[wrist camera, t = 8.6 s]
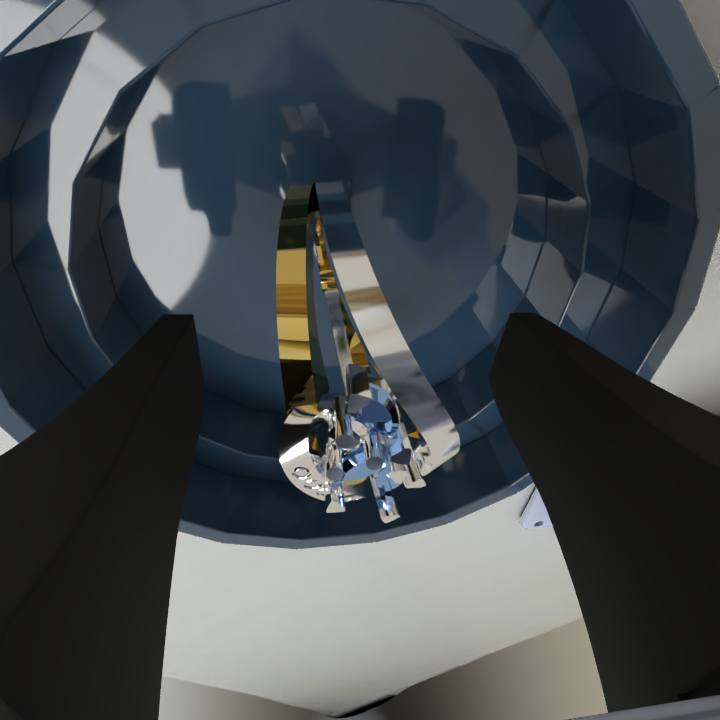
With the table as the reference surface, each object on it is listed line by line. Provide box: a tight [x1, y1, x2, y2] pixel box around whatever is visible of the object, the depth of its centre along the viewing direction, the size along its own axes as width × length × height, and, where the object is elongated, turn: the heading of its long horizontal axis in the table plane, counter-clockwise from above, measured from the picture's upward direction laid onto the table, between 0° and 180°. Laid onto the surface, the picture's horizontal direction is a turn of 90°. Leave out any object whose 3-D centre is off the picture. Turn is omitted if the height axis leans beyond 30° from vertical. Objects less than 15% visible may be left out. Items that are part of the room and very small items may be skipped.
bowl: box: [0, 0, 720, 549], centre depth 13 cm, size 16×16×5 cm
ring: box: [276, 179, 460, 523], centre depth 11 cm, size 7×3×8 cm, turn 5°
